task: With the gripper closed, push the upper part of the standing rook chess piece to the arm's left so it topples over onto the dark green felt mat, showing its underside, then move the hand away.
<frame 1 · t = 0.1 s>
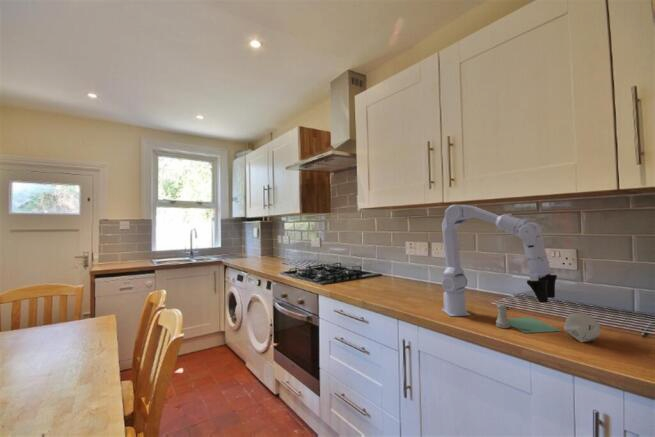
hand: (547, 299, 99), 11 cm above the table, tool pointing down, fingers open, 7 cm apart
felt mat: (528, 325, 106), on the table
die: (582, 340, 92), on the table
rook chess piece: (503, 327, 106), on the table
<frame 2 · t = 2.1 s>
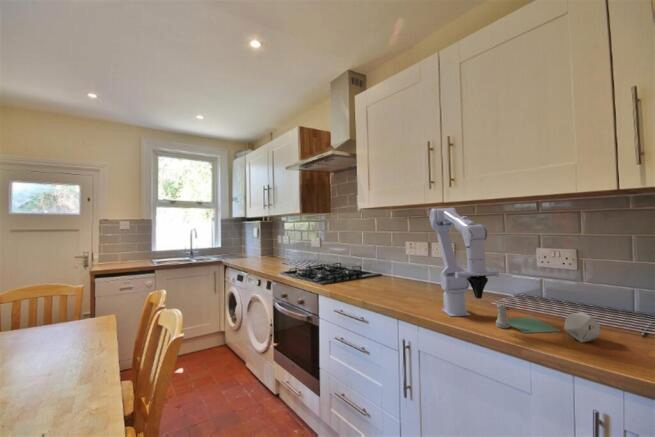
hand: (478, 297, 106), 10 cm above the table, tool pointing down, fingers closed
nothing on the table moved.
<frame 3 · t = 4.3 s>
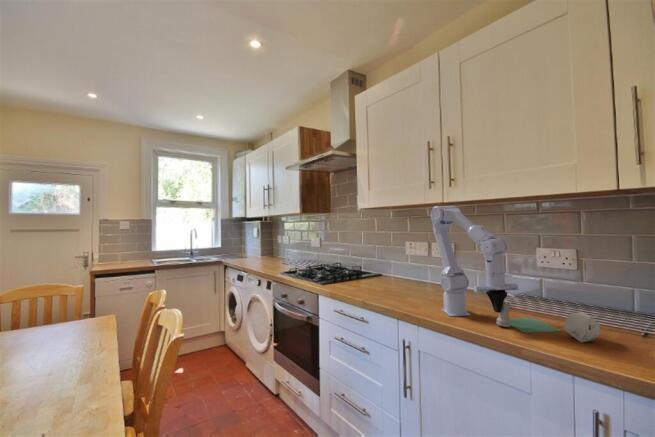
hand: (497, 311, 106), 5 cm above the table, tool pointing down, fingers closed
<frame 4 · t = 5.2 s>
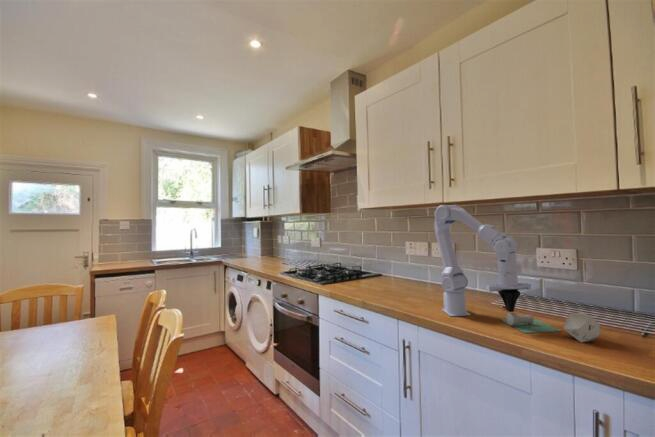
hand: (510, 311, 106), 5 cm above the table, tool pointing down, fingers closed
rook chess piece: (508, 319, 106), point 2 cm above the table, touching felt mat
everything else where it was.
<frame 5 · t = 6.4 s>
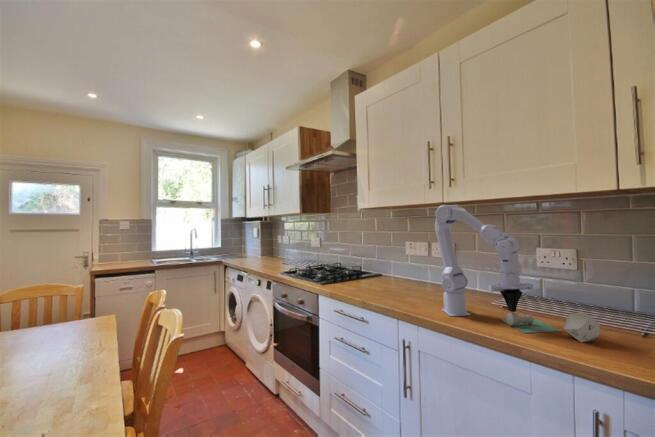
hand: (512, 311, 106), 5 cm above the table, tool pointing down, fingers closed
nothing on the table moved.
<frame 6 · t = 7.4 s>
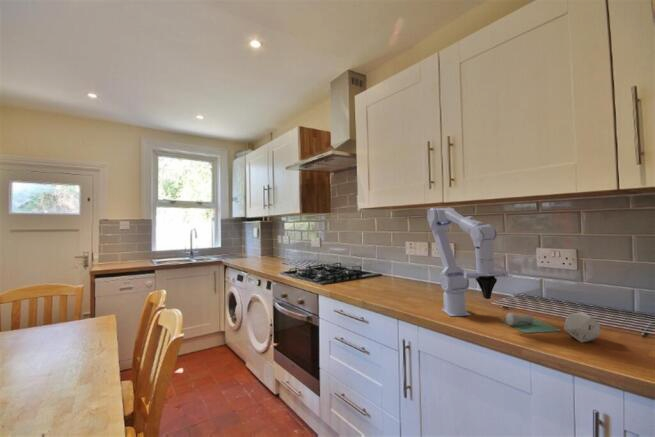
hand: (487, 298, 106), 10 cm above the table, tool pointing down, fingers closed
nothing on the table moved.
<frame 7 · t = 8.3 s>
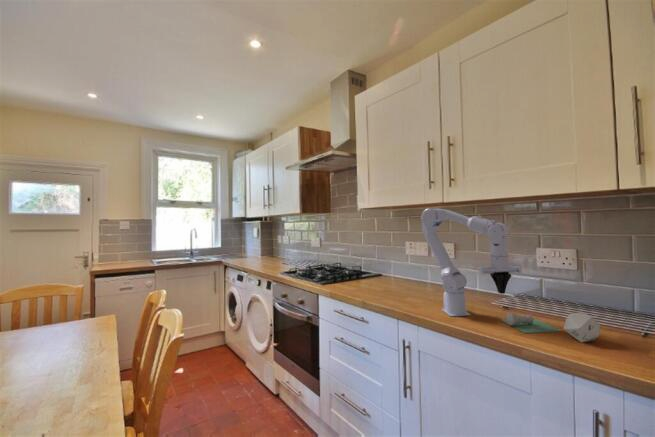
hand: (501, 292, 111), 10 cm above the table, tool pointing down, fingers closed
nothing on the table moved.
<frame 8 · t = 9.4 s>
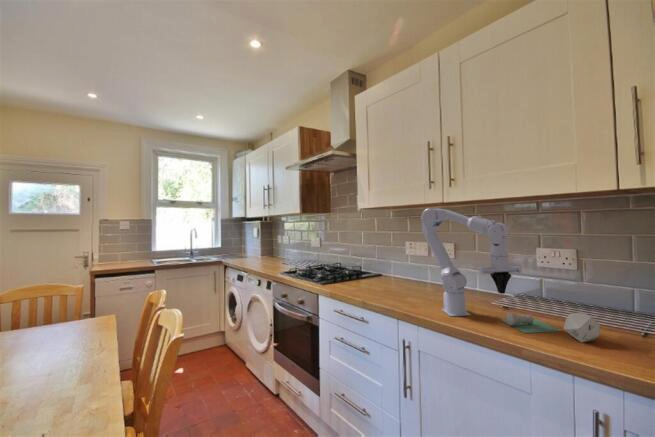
hand: (501, 292, 111), 10 cm above the table, tool pointing down, fingers closed
nothing on the table moved.
at the end: rook chess piece tilted 95°; rook chess piece inside the target area (4.9 cm from its centre), point 2.5 cm above the table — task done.
